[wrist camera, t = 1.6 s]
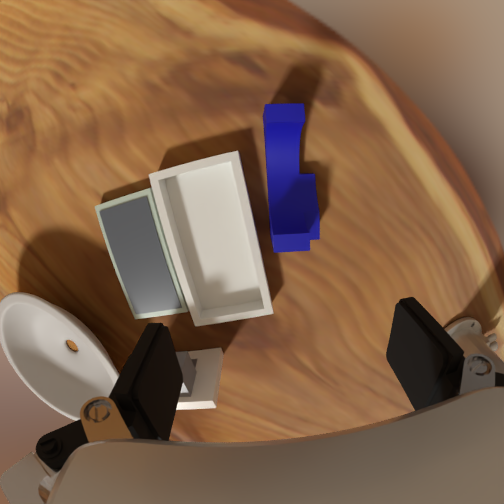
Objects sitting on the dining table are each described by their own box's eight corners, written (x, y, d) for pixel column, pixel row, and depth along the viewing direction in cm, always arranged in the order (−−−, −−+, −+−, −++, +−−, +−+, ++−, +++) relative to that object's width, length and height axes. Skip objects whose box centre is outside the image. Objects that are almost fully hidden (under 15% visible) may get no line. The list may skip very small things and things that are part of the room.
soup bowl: (43, 378, 38) (27, 399, 32) (6, 263, 30) (-21, 280, 24) (152, 412, 38) (142, 442, 32) (130, 285, 31) (107, 313, 25)
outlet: (213, 326, 32) (202, 379, 24) (223, 354, 34) (216, 407, 25) (147, 335, 33) (123, 382, 24) (160, 361, 34) (140, 409, 26)
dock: (239, 151, 26) (237, 150, 24) (272, 302, 31) (273, 313, 29) (156, 173, 27) (148, 174, 24) (198, 315, 32) (195, 326, 29)
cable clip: (313, 231, 29) (327, 249, 23) (270, 233, 29) (274, 252, 23) (308, 114, 25) (322, 103, 19) (262, 115, 25) (265, 104, 19)
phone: (153, 186, 27) (149, 188, 26) (190, 306, 31) (187, 312, 30) (100, 204, 28) (94, 206, 26) (138, 314, 32) (134, 319, 31)
